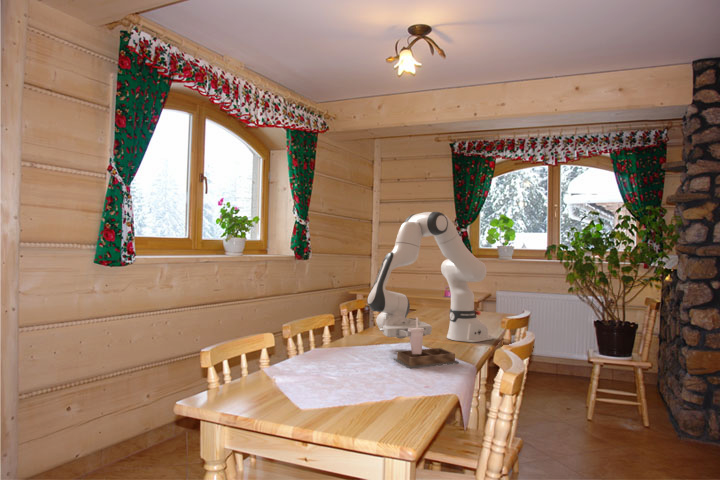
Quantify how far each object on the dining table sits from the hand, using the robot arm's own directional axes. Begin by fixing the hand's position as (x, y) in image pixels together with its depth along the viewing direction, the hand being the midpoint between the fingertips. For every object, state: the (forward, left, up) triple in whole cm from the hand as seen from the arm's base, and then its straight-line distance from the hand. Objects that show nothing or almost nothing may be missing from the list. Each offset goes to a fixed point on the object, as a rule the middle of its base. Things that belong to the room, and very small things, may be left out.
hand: (417, 334), depth 186 cm
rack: (-5, -1, -11) cm, 12 cm away
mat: (-5, -1, -11) cm, 12 cm away
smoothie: (0, 0, -8) cm, 8 cm away
